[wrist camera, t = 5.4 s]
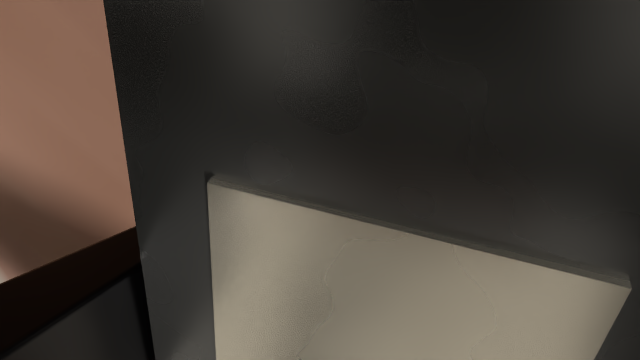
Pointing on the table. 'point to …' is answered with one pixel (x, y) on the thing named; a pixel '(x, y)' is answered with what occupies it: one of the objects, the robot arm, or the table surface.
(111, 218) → the table surface
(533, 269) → the drive
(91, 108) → the table surface
